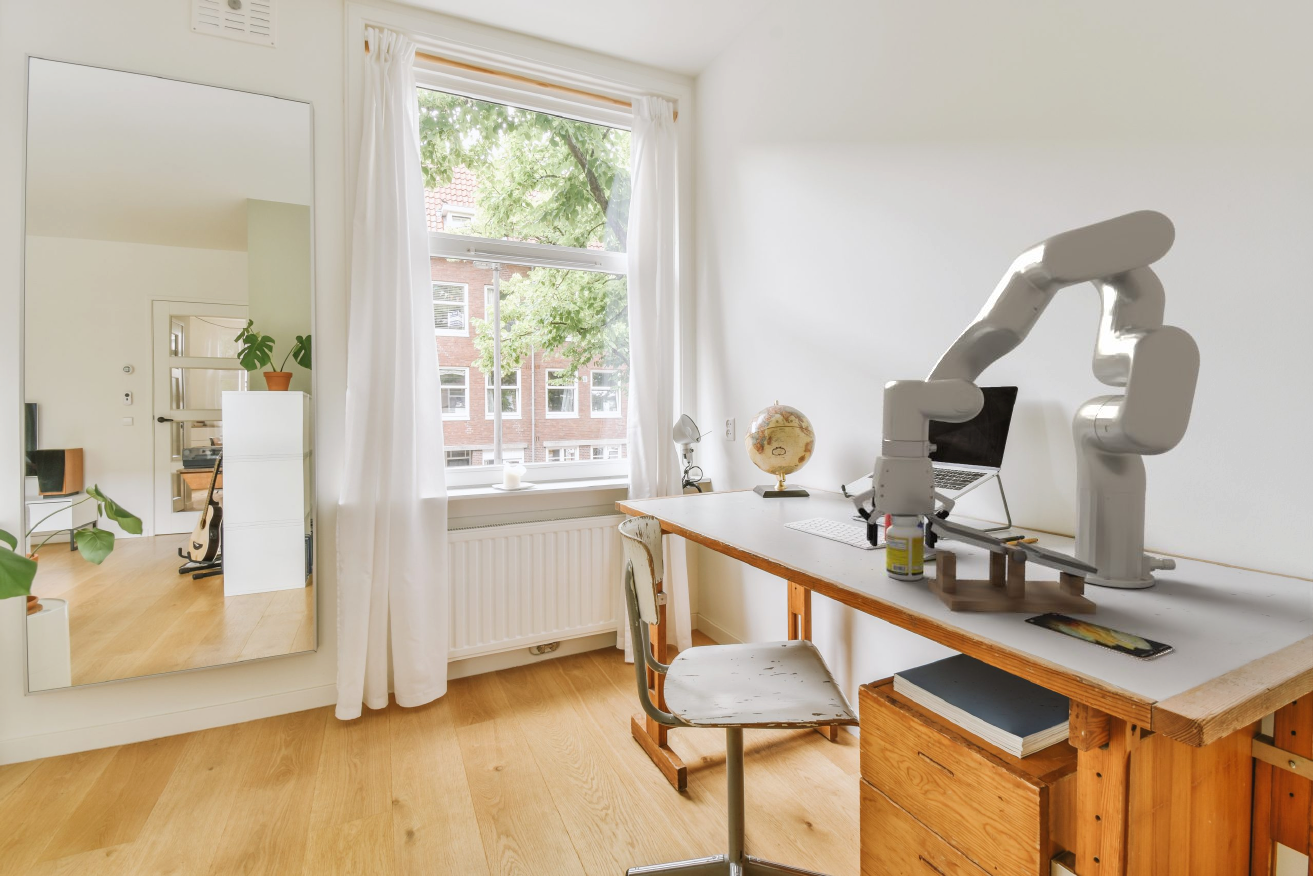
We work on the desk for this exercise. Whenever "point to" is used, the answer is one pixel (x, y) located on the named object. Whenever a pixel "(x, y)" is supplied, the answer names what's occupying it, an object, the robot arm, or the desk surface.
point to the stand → (1008, 588)
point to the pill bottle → (904, 548)
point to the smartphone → (1099, 635)
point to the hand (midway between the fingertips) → (901, 545)
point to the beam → (1010, 547)
